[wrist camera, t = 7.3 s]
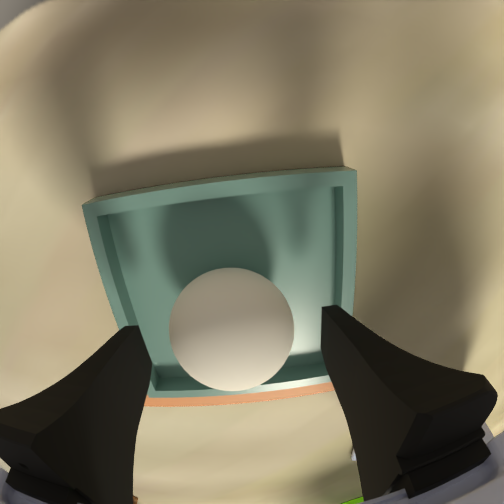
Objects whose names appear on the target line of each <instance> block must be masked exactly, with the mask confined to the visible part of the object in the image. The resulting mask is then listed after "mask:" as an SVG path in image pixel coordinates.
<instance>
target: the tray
mask: <svg viewBox="0 0 504 504" xmlns="http://www.w3.org/2000/svg"><path fill="white" fill-rule="evenodd" d="M82 208H83V212H84V217H85V221H86V225H87V229H88V233H89V237H90V241H91V245H92V248H93V252H94V255H95V259H96V262H97V266H98V269H99V272H100V276H101V279H102V282H103V285H104V288H105V291H106V294H107V297H108V300H109V303H110V306H111V309H112V311H113V314H114V317H115V320H116V322H117V325H118V328H119V330H120V329H122V328H123V327H124V326H132V325H139V328H140V331H141V334H142V337H143V340H144V342H145V345H146V348H147V350H148V353H149V356H150V358H151V361H152V371H151V378H150V385H149V389H148V392H147V395H148V397H149V398H183V397H208V396H224V395H237V394H248V393H258V392H267V391H275V390H283V389H290V388H297V387H303V386H310V385H316V384H321V383H327V382H331V379H330V377H329V375H328V372H327V370H326V367H325V363H324V359H323V355H322V351H321V348H320V346H321V314H322V307H324V306H330V305H338V306H339V307H341V308H342V309H343V310H345V311H346V312H347V313H348V314H350V315H351V316H353V304H354V290H355V273H356V250H357V170H354V169H351V168H348V167H346V166H338V167H320V168H305V169H292V170H280V171H269V172H258V173H249V174H240V175H231V176H223V177H215V178H207V179H200V180H192V181H185V182H179V183H172V184H166V185H160V186H154V187H148V188H142V189H136V190H131V191H125V192H120V193H115V194H110V195H105V196H100V197H95V198H93V199H92V200H90V201H88V202H86V203H84V204H83V205H82ZM220 268H242V269H247V270H250V271H253V272H256V273H258V274H260V275H262V276H263V277H265V278H266V279H268V280H270V281H271V282H272V283H273V284H274V285H275V286H276V287H277V288H278V289H279V290H280V291H281V292H282V294H283V295H284V297H285V298H286V300H287V302H288V304H289V307H290V309H291V312H292V316H293V320H294V340H293V344H292V348H291V351H290V353H289V356H288V358H287V360H286V361H285V363H284V365H283V366H282V367H281V368H280V370H279V371H278V372H277V373H276V374H275V375H274V376H273V377H271V378H270V379H269V380H267V381H266V382H264V383H262V384H260V385H258V386H256V387H253V388H250V389H246V390H241V391H223V390H218V389H214V388H211V387H208V386H206V385H204V384H202V383H200V382H199V381H197V380H195V379H194V378H193V377H191V376H190V375H189V374H188V373H187V372H186V371H185V370H184V369H183V367H182V366H181V365H180V363H179V362H178V360H177V358H176V357H175V355H174V352H173V350H172V347H171V343H170V338H169V320H170V315H171V311H172V308H173V306H174V303H175V301H176V299H177V297H178V296H179V295H180V293H181V292H182V290H183V289H184V288H185V287H186V286H187V285H188V284H189V283H190V282H192V281H193V280H194V279H196V278H197V277H199V276H200V275H202V274H204V273H207V272H209V271H212V270H215V269H220Z"/></svg>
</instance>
